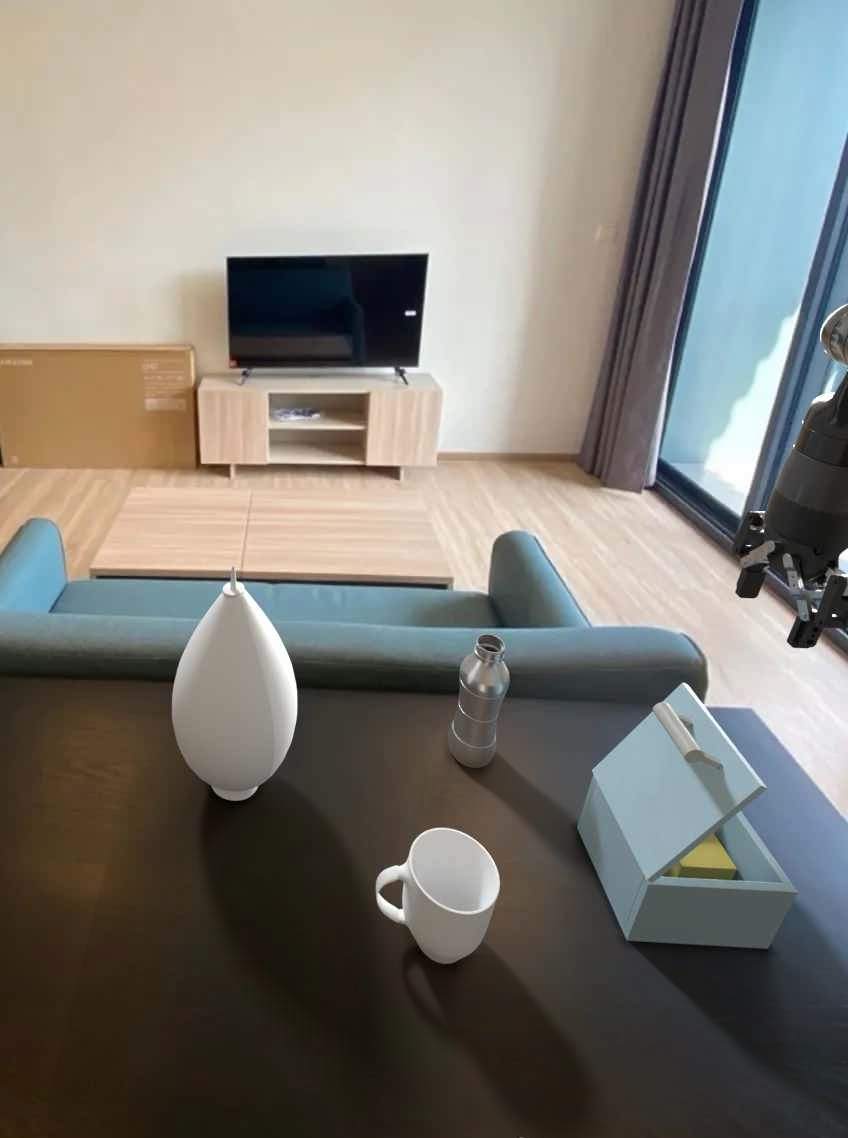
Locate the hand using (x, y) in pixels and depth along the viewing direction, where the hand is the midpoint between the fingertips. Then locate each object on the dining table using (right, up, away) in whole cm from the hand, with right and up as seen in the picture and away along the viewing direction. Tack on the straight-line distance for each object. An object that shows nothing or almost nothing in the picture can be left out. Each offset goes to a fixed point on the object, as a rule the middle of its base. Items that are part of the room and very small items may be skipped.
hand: (770, 619), depth 73 cm
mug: (-40, -34, -3) cm, 53 cm away
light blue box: (-11, -32, +2) cm, 34 cm away
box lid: (-14, -16, -4) cm, 22 cm away
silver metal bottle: (-28, -25, +19) cm, 42 cm away
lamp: (-61, -26, +14) cm, 68 cm away
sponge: (-8, -31, +3) cm, 32 cm away
